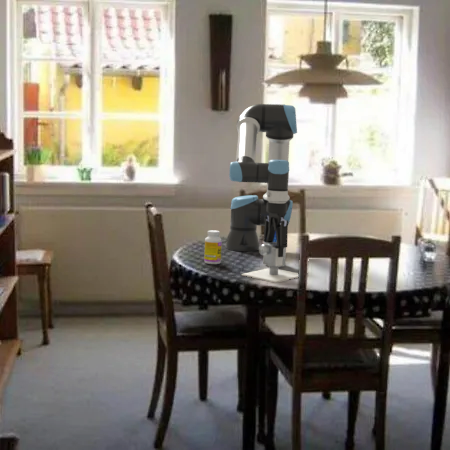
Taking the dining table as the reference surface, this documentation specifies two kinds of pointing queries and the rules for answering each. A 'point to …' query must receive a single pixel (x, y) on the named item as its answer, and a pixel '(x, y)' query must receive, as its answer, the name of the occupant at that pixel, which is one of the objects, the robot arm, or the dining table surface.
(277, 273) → the panel
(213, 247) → the supplement bottle
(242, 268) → the dining table surface
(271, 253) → the elbow sleeve
